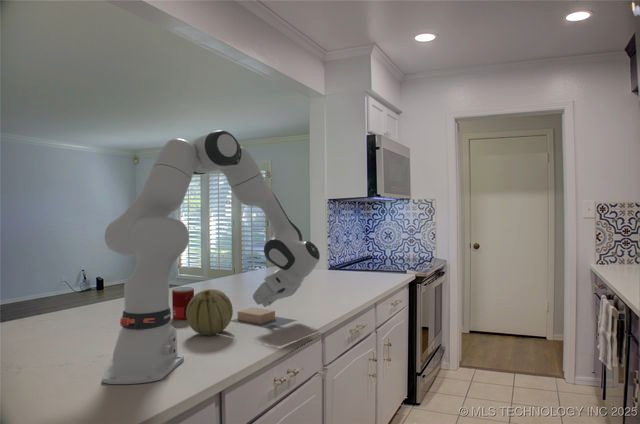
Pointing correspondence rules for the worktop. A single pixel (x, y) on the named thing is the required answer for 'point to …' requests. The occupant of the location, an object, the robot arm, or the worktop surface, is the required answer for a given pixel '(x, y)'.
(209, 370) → the worktop surface
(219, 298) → the cantaloupe
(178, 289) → the canned food
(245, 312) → the block
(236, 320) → the mat
